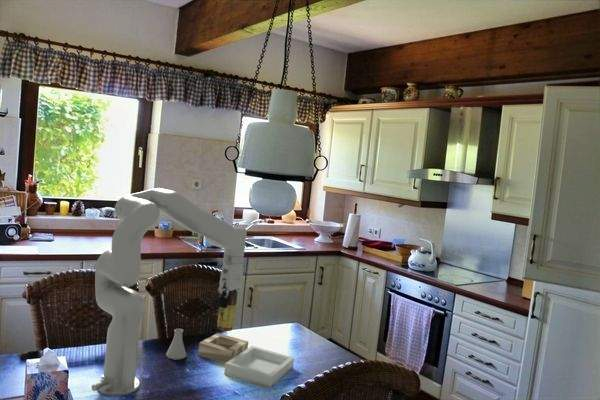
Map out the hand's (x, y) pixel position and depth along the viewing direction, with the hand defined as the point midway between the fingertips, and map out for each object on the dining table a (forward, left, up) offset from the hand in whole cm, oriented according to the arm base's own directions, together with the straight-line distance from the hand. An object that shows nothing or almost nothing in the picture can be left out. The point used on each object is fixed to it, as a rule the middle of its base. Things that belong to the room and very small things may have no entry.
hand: (227, 304), depth 190 cm
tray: (-4, -18, -20) cm, 27 cm away
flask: (-12, +13, -20) cm, 27 cm away
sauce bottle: (0, 0, -10) cm, 10 cm away
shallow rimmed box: (0, 0, -20) cm, 20 cm away
